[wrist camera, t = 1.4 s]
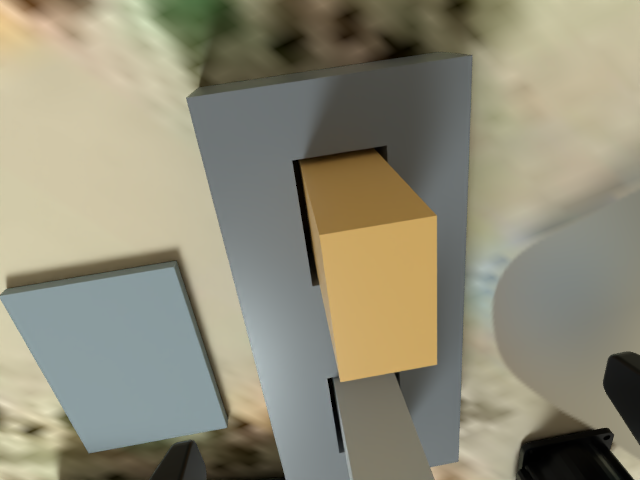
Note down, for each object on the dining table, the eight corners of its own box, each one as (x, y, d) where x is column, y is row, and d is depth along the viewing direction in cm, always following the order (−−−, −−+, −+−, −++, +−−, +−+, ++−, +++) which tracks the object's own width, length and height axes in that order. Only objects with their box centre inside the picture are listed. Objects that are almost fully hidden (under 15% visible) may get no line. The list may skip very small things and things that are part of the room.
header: (440, 51, 17) (472, 55, 15) (439, 419, 27) (458, 461, 25) (198, 87, 17) (186, 97, 14) (287, 448, 27) (289, 494, 24)
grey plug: (378, 332, 24) (437, 486, 16) (384, 395, 26) (437, 559, 18) (326, 341, 23) (357, 502, 15) (335, 404, 26) (367, 573, 18)
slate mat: (176, 260, 20) (173, 266, 20) (228, 419, 25) (227, 427, 25) (5, 288, 20) (-2, 296, 19) (92, 444, 25) (88, 453, 24)
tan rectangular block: (363, 136, 19) (436, 215, 11) (371, 236, 21) (437, 364, 13) (296, 147, 18) (319, 235, 10) (311, 247, 21) (340, 382, 13)
